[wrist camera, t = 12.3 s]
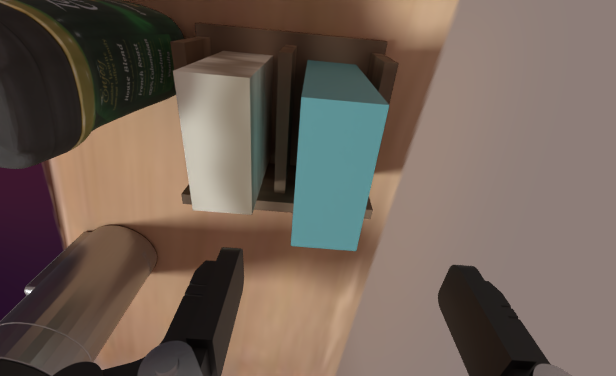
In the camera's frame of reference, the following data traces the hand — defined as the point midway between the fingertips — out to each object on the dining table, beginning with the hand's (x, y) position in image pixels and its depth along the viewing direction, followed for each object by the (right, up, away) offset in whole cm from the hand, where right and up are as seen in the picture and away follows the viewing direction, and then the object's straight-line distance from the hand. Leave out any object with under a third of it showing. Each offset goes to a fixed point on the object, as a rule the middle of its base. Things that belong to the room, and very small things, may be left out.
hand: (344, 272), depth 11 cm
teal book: (0, +11, +18) cm, 21 cm away
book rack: (-3, +11, +19) cm, 22 cm away
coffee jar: (-17, +17, +16) cm, 29 cm away
